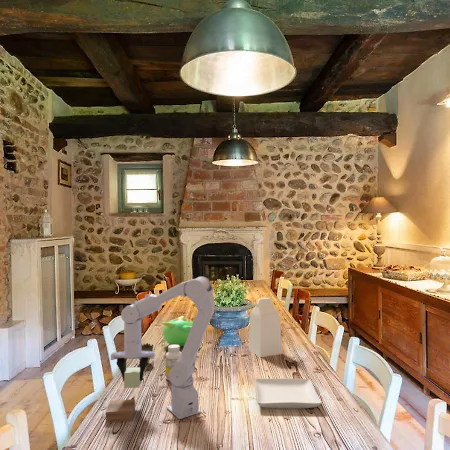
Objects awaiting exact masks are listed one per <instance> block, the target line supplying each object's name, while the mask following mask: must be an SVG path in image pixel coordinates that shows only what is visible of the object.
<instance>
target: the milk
mask: <svg viewBox="0 0 450 450" xmlns="http://www.w3.org/2000/svg"><path fill="white" fill-rule="evenodd" d="M249 313H250V314H249V330H248V331H249V336H248V339H249V340H248V351H249V350H250V351H251V352H250V351H249V352H250V353H252V352H253V353H252V354H254V355H255V354H256V356H257V357H259V358H266V357H272V356H278V355H279V356H280V355H282V354H283V349H282V348H283V346H282V332H281V317H280V316H281V315H280V313H279V311H278V310H277V308H276V307H275V305H274V303H273V302H272V298H271V297H262V298H258V300H257V302H256V304H255V306H254V307H253V309H251V311H250V312H249Z"/></svg>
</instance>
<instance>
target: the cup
mask: <svg viewBox="0 0 450 450" xmlns="http://www.w3.org/2000/svg"><path fill="white" fill-rule="evenodd" d="M141 345H142V351H154V345H153V344H152V343H148V342H147V343H143V344H142V343H141ZM138 360H139V361H140V360H141V359H138ZM150 360H152V359H151V358H149V359H148V361H147V364H146V365H148V364H149V363H150Z"/></svg>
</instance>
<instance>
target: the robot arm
mask: <svg viewBox="0 0 450 450" xmlns="http://www.w3.org/2000/svg"><path fill="white" fill-rule="evenodd" d="M179 296H180V297H183V298H185V297H188V298H189V300H190V301H191V302H192V303H194V305H195V307H196V309H197V312H196V315H195V318H194V320H193V325H192V327H191V330H190V332H189V335H188V338H187V340H186V343H185V345H184V346H183V348H182V351H181V355H180V357H179V358H178V360H177V362H176V364H175V366H174V367H173V368H172V369H171V370H170V372H169V380H168V381H169V382H170V384H171V387H170V389H171V391H170V392H171V394H170V395H171V397H170V398H171V400H170V401H171V402H170V403H171V405H167V406H166V409H167V410H168V411H169V412H170V413H172V414H173V415H174V416H175V417H176V418H178V419H179V420H181V419H185V418H187V417H191V416H194V415H197V414H200V413H201V412H202V411H201V409H199V392H198V390H197V389H196V388H195V385H194V378H193V374H194V373H195V371H196V361H197V355H198V353H199V350H200V347H201V344H202V342H203V339H204V337H205V335H206V332H207V329H208V326H209V324H210V322H211V320H212V317H213V315H214V311H215V308H216V306H215V299H214V298H215V297H214V286H213V285H212V284H211V282H210V280H209V279H208V278H207V277H205V276H198V277H196V278H192V279H189V280H186V281H183V282H180V283H178V284H175V286H172V287H171V288H169V289H167V290H165V291H162V293H160V294H158V295H156V294H154V293H151V294H150V293H147V294H146V295H144V298H141V299H140V300H135V301H133V303H131V304H130V305H126V306H125V307H124V308H123V309H122V310H121V312H120V316H121V319H122V321H123V324H124V326H123V331H124V332H123V334H124V335H123V338H124V339H123V343H124V347H123V348H124V349H123V350H124V351H117V352H111V353H110V360H111V361H115V360H116V365H117V367H118V370H119V371H120V374H121V377H122V381H123V382H124V372H125V371H126V369H127V360H133V359H137V360H139V359H141V360H139V367H140V381H143V380H144V374H145V373H144V372H145V370H146V369H145V368H146V366H147V365H148V364H147V361H148V359H149V358H151V359H149V360H153V359H155V357H156V352H155V351H154V350H153V351H142V345H143V344H142V319H143V318H145V317H146V316H149V315H151V314H153V313H156V312H157V311H158V310H160V309H161V306H162V304H164V303H166V302H167V301H168V302H169V301H170V300H172V299H174V298H176V297H179ZM141 344H142V345H141Z"/></svg>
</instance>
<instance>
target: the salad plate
mask: <svg viewBox="0 0 450 450" xmlns="http://www.w3.org/2000/svg"><path fill="white" fill-rule="evenodd" d="M254 385H255V393H256V395H255V396H256V404H257V405H258V406H259V407H262V408H265V409H267V408H270V409H309V408H310V409H311V408H317V407H319V406H320V405H321V404H322V401H321V399H320V397H319V395H318V393H317V390H316V389H315V387H314V384H313V382H312V380H311V379H309V378H255V379H254Z"/></svg>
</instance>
